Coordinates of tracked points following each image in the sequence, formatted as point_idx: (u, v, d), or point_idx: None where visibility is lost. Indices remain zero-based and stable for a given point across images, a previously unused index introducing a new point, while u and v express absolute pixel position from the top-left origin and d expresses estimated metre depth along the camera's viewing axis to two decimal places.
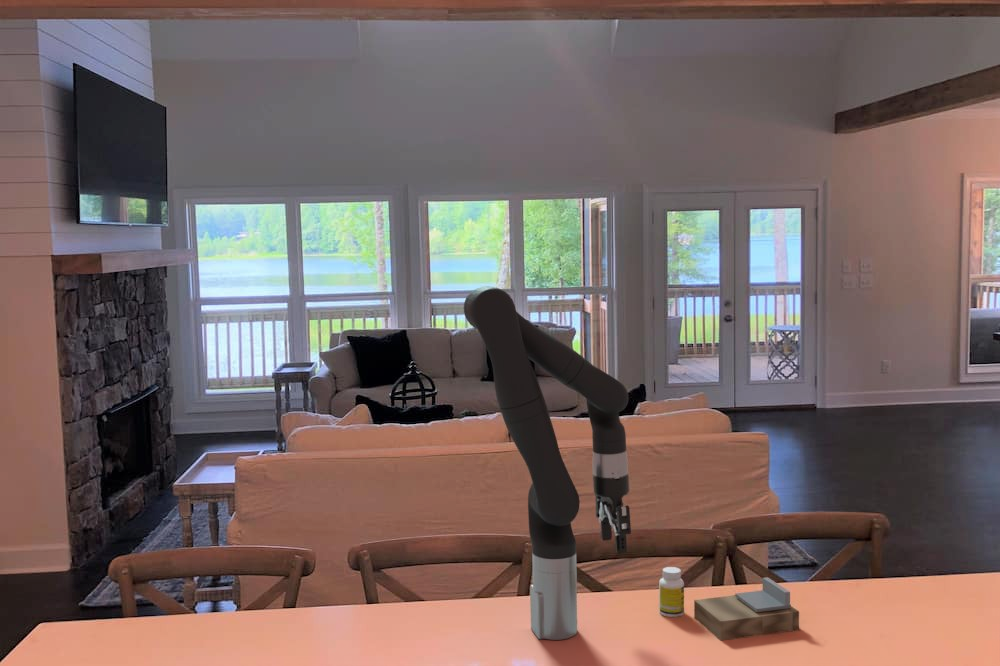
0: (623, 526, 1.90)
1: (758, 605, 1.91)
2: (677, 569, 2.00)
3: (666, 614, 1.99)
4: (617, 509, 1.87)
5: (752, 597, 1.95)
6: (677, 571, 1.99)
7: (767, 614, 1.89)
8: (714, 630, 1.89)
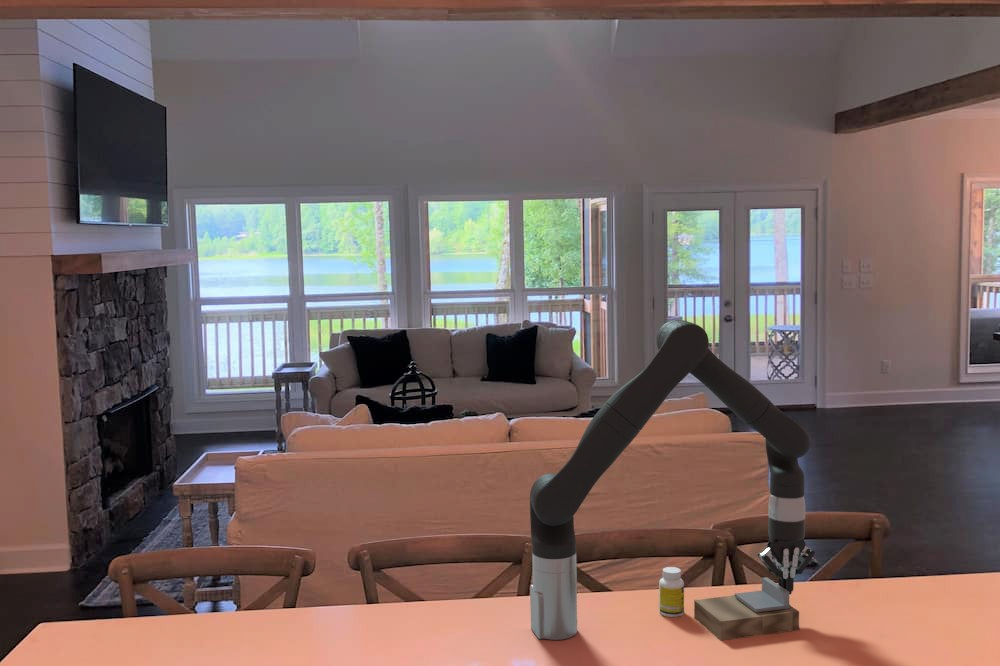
0: (788, 567, 1.97)
1: (757, 605, 1.91)
2: (677, 569, 2.00)
3: (666, 614, 1.99)
4: (813, 553, 1.96)
5: (751, 598, 1.95)
6: (677, 571, 1.99)
7: (767, 614, 1.89)
8: (714, 630, 1.89)
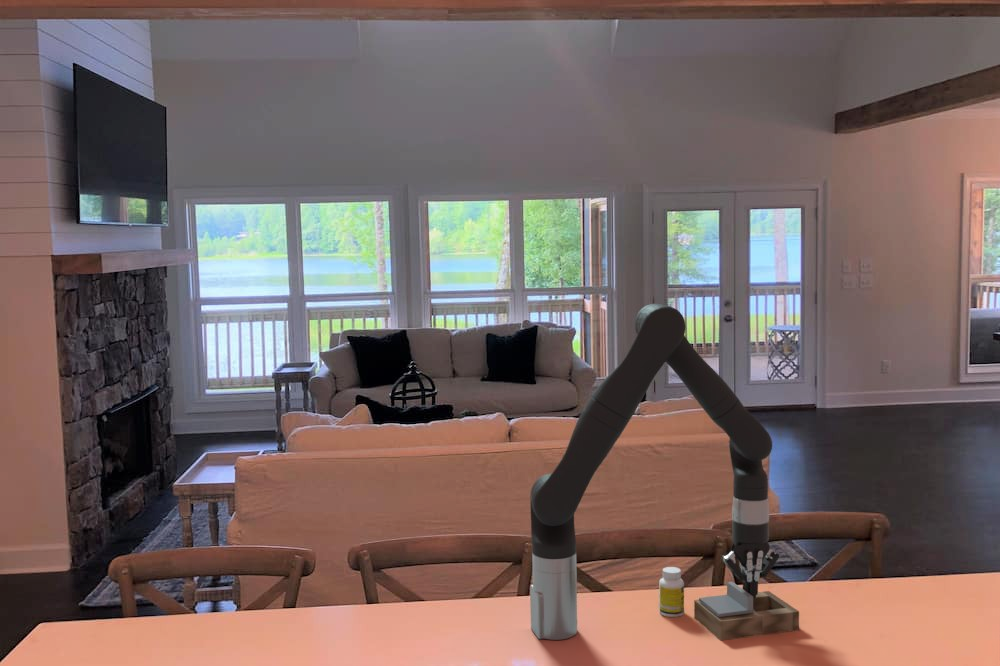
0: (753, 570, 1.95)
1: (721, 610, 1.89)
2: (677, 569, 2.00)
3: (666, 614, 1.99)
4: (777, 556, 1.93)
5: (715, 602, 1.93)
6: (677, 571, 1.99)
7: (767, 614, 1.89)
8: (714, 630, 1.89)
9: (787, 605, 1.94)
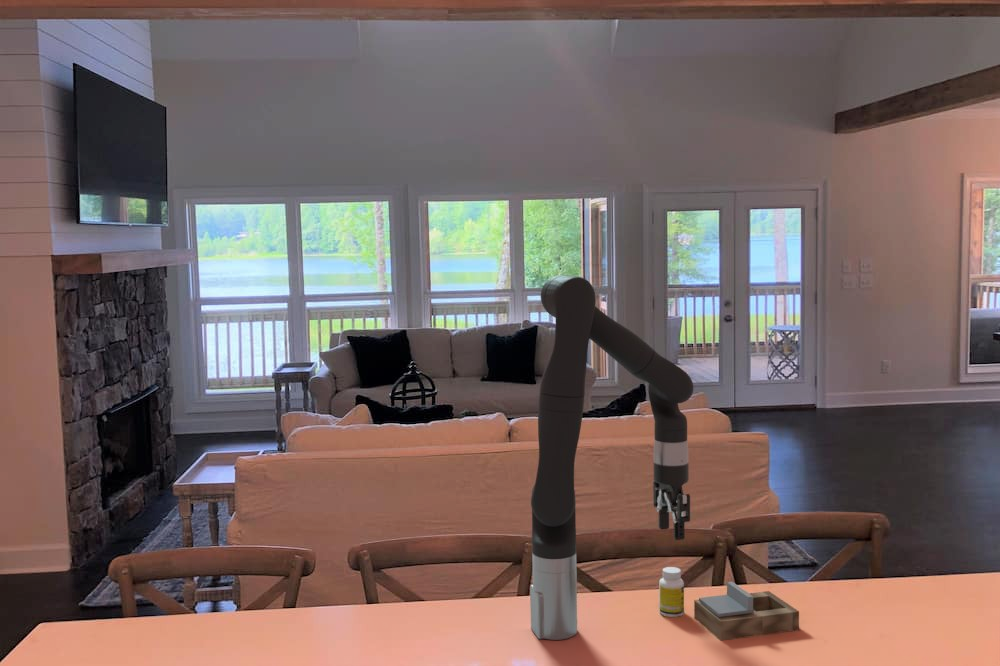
0: None
1: (721, 610, 1.89)
2: (677, 569, 2.00)
3: (666, 614, 1.99)
4: None
5: (715, 602, 1.93)
6: (677, 571, 1.99)
7: (767, 614, 1.89)
8: (714, 630, 1.89)
9: (787, 605, 1.94)
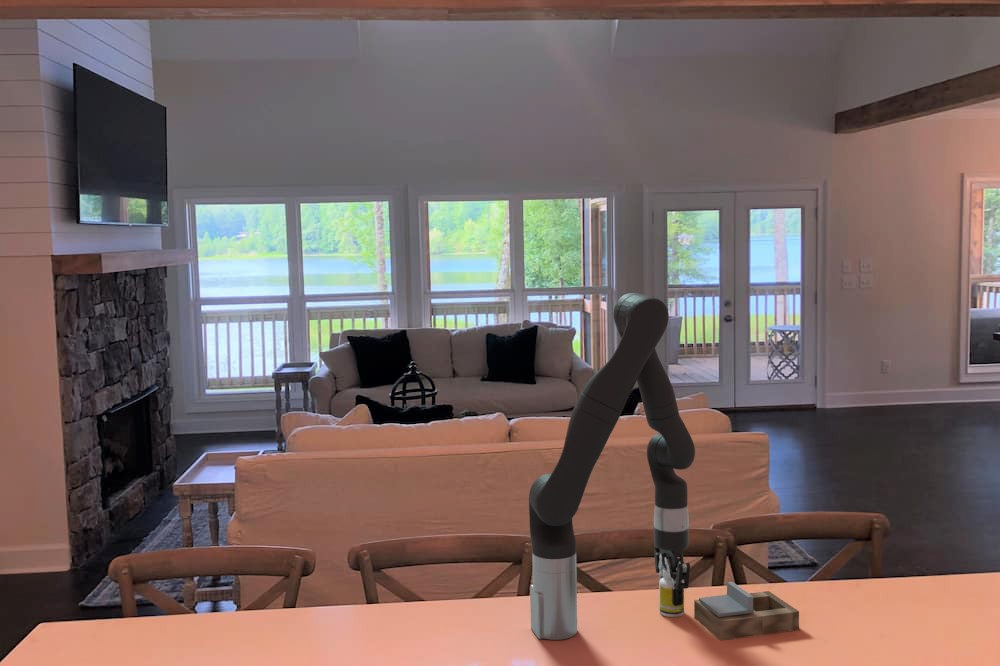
0: None
1: (721, 610, 1.89)
2: None
3: (666, 614, 1.99)
4: None
5: (715, 602, 1.93)
6: None
7: (767, 614, 1.89)
8: (714, 630, 1.89)
9: (787, 605, 1.94)
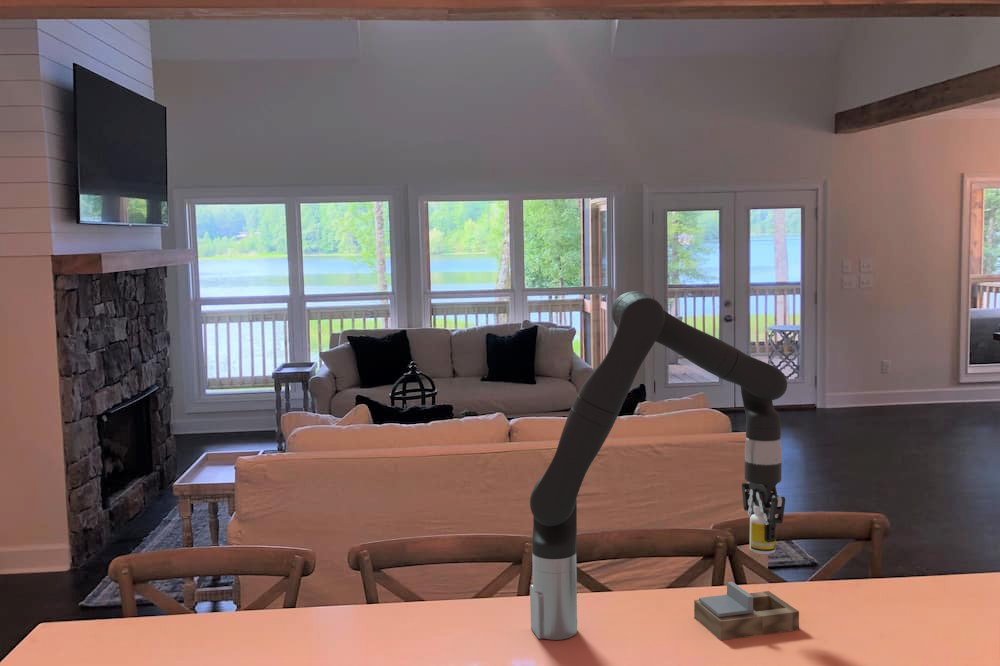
0: None
1: (721, 610, 1.89)
2: None
3: (758, 551, 1.92)
4: None
5: (715, 602, 1.93)
6: (769, 507, 1.92)
7: (767, 614, 1.89)
8: (714, 630, 1.89)
9: (787, 605, 1.94)
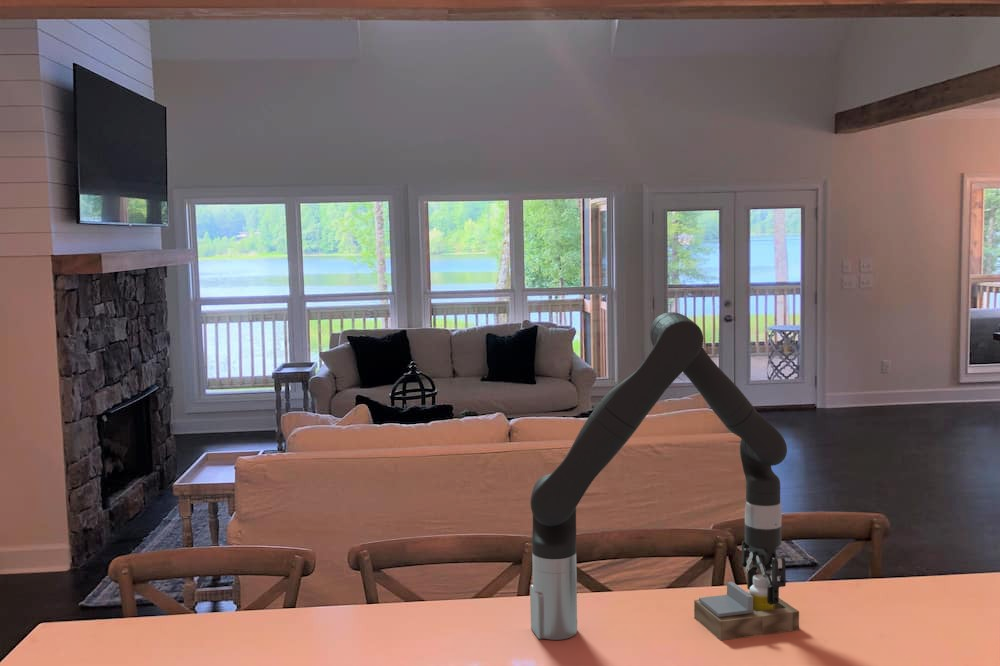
0: None
1: (721, 610, 1.89)
2: None
3: None
4: None
5: (715, 602, 1.93)
6: None
7: (767, 614, 1.89)
8: (714, 630, 1.89)
9: (787, 605, 1.94)
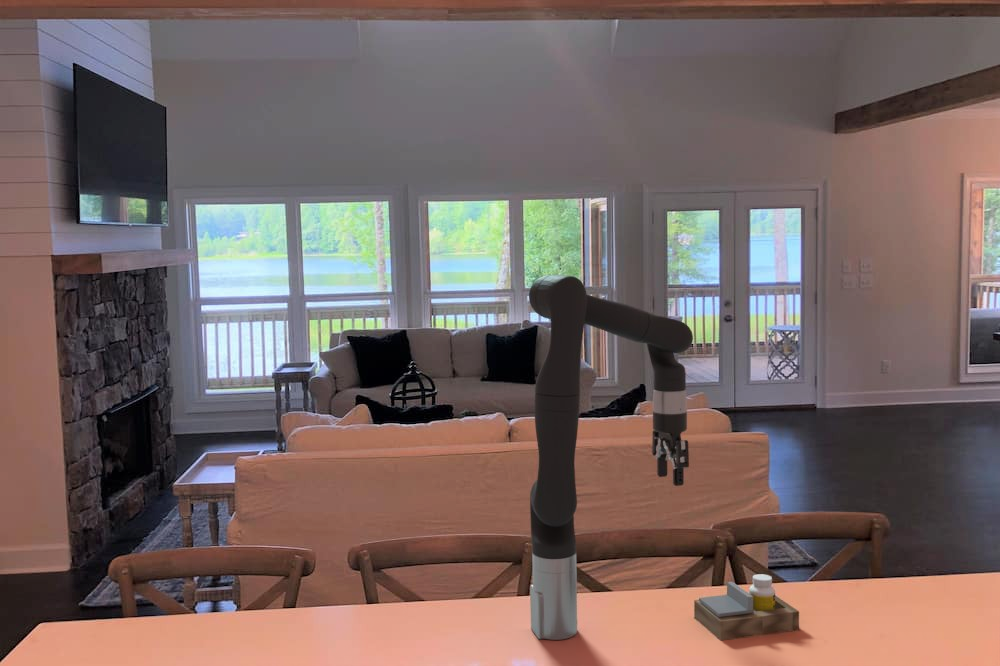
0: None
1: (721, 610, 1.89)
2: (768, 576, 1.95)
3: None
4: None
5: (715, 602, 1.93)
6: (768, 578, 1.94)
7: (767, 614, 1.89)
8: (714, 630, 1.89)
9: (787, 605, 1.94)
